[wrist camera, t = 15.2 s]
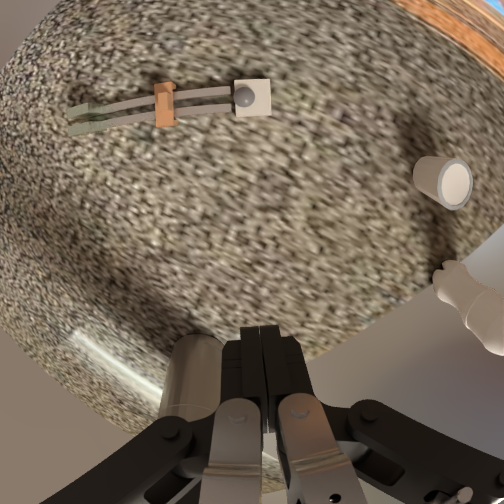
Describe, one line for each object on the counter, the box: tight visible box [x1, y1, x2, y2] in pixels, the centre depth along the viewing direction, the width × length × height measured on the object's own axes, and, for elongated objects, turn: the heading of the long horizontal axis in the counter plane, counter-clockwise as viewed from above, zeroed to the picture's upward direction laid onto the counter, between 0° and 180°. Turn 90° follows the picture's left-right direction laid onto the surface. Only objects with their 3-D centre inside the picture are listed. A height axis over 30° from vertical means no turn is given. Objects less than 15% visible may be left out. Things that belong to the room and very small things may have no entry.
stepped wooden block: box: [154, 82, 178, 127], centre depth 29 cm, size 2×5×5 cm, turn 2°
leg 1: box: [67, 86, 231, 118], centre depth 28 cm, size 19×1×5 cm, turn 93°
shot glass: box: [413, 156, 473, 210], centre depth 33 cm, size 7×7×7 cm
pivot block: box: [233, 79, 271, 117], centre depth 30 cm, size 4×4×2 cm
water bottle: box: [432, 260, 504, 356], centre depth 31 cm, size 7×7×25 cm
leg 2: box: [68, 104, 231, 137], centre depth 29 cm, size 19×1×5 cm, turn 92°
